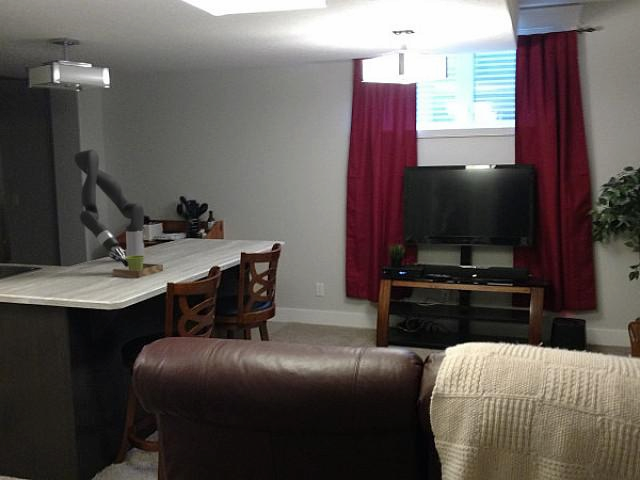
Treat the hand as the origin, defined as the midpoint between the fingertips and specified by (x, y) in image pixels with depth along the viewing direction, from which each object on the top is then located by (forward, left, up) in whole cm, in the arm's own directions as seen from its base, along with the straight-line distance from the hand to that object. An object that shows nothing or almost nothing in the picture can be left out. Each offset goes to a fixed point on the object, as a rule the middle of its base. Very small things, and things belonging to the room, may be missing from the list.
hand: (128, 265), depth 315 cm
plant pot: (-1, +4, -4) cm, 6 cm away
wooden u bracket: (0, +5, -4) cm, 7 cm away
